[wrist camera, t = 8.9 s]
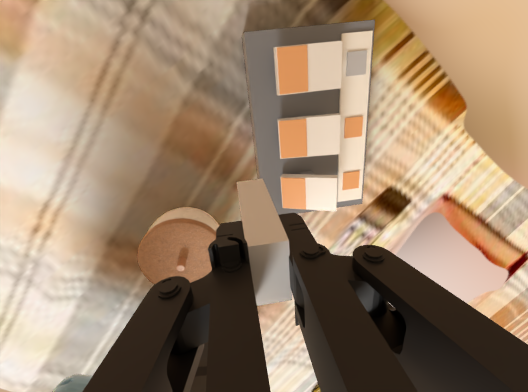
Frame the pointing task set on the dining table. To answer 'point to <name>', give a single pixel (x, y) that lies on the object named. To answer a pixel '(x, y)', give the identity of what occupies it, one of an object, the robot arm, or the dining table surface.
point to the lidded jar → (178, 245)
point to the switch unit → (311, 107)
